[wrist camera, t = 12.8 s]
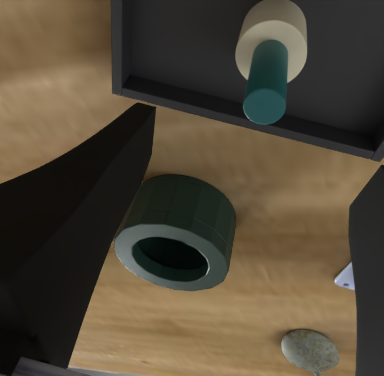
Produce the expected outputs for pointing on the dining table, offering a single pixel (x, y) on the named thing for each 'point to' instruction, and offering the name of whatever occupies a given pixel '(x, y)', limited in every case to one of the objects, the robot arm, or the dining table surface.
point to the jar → (177, 233)
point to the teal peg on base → (270, 57)
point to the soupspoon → (310, 351)
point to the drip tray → (236, 83)
